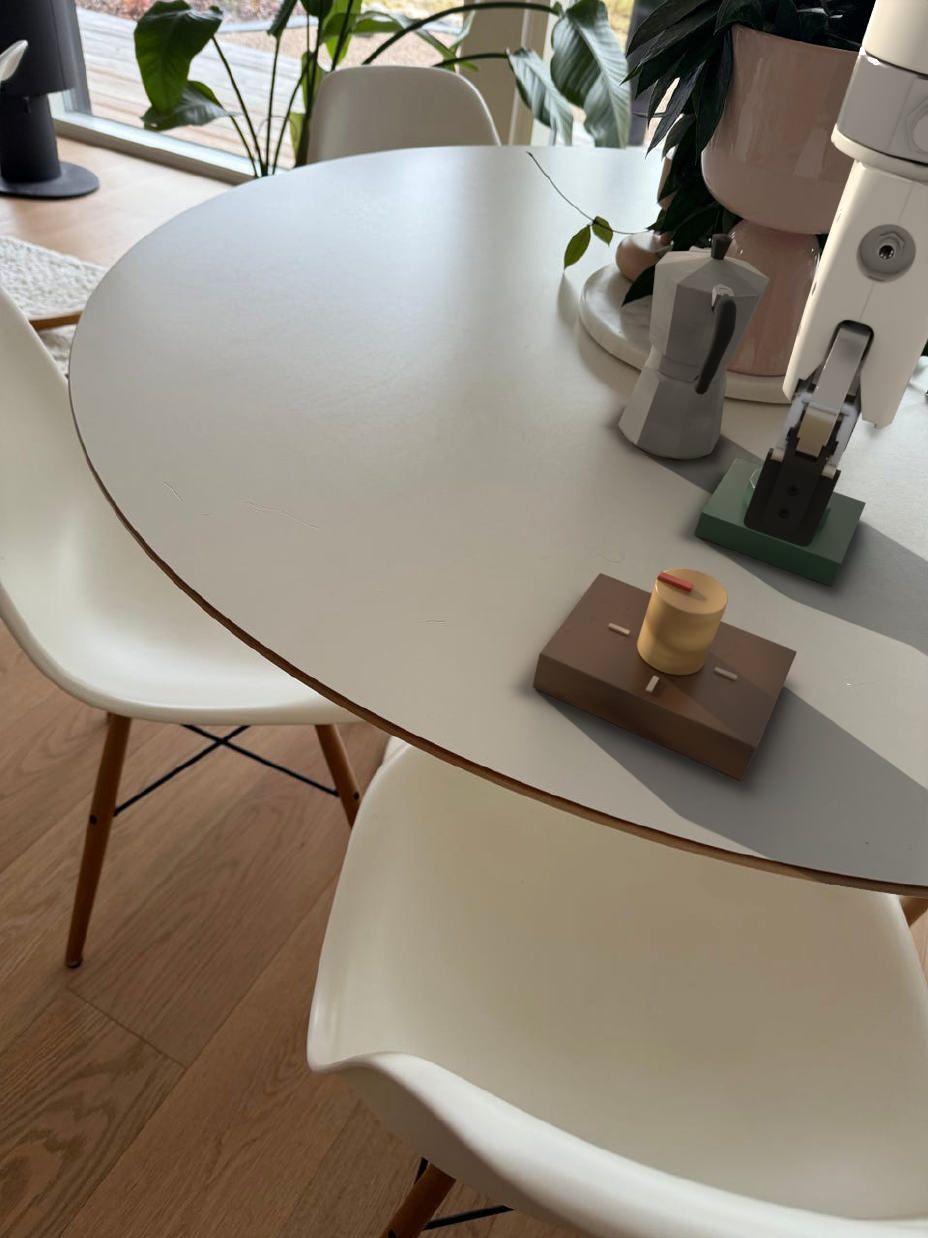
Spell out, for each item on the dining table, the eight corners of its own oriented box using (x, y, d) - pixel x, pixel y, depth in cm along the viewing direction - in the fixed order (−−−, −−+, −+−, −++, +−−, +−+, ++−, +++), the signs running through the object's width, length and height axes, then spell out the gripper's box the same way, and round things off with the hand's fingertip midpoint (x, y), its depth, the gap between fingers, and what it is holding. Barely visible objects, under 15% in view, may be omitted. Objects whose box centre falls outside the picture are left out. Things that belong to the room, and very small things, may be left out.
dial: (714, 645, 64) (738, 581, 61) (693, 685, 61) (717, 620, 58) (650, 619, 66) (670, 555, 62) (626, 657, 63) (646, 591, 59)
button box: (856, 524, 83) (874, 483, 80) (830, 586, 76) (849, 544, 73) (729, 479, 86) (742, 438, 84) (693, 534, 79) (707, 492, 77)
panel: (782, 684, 67) (798, 649, 65) (742, 781, 60) (757, 745, 58) (590, 604, 71) (599, 569, 69) (531, 687, 64) (539, 651, 62)
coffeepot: (611, 392, 96) (656, 199, 84) (708, 404, 96) (766, 213, 85) (624, 480, 84) (678, 270, 72) (734, 493, 84) (805, 286, 73)
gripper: (1035, 199, 32) (843, 607, 43) (1044, 100, 44) (892, 437, 56) (804, 143, 34) (676, 547, 45) (873, 63, 46) (760, 396, 57)
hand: (796, 486), depth 50 cm, fingers open, 9 cm apart
